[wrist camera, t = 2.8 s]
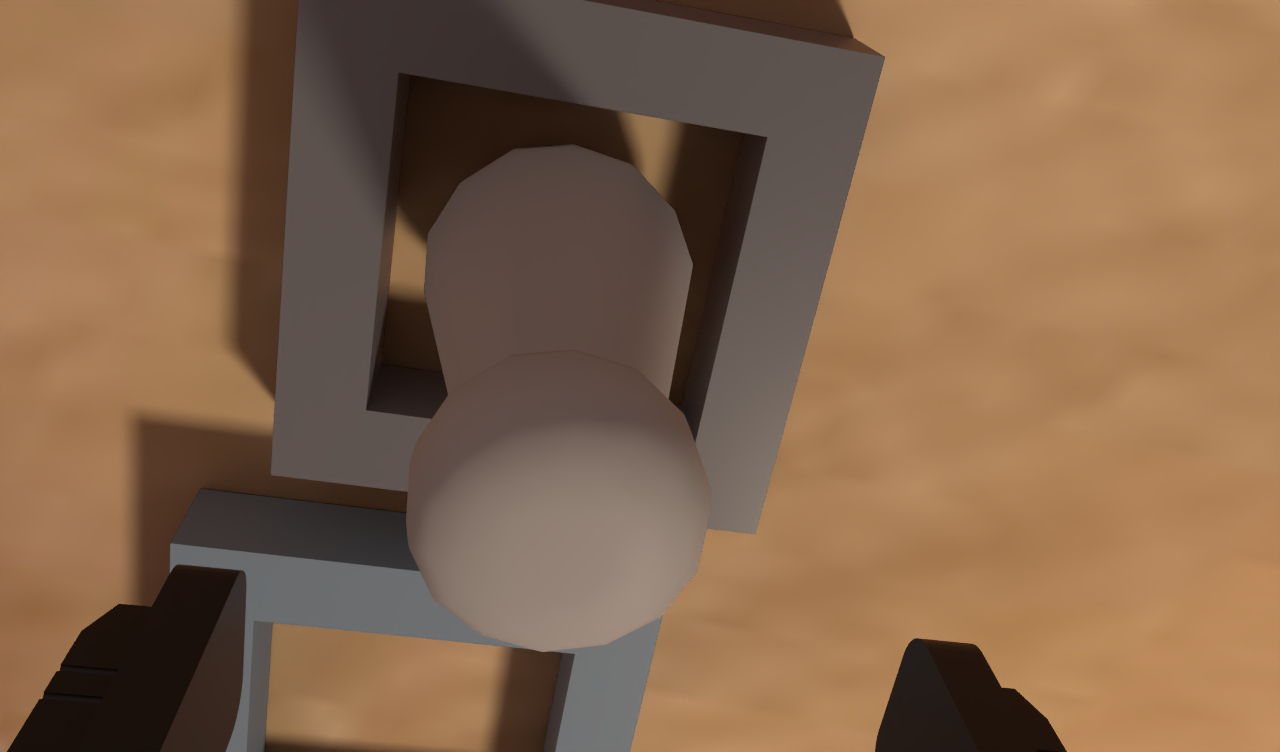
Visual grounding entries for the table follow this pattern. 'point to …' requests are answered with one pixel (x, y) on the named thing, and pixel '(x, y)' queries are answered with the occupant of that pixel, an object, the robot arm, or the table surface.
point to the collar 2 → (381, 607)
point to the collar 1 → (588, 75)
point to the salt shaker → (557, 405)
